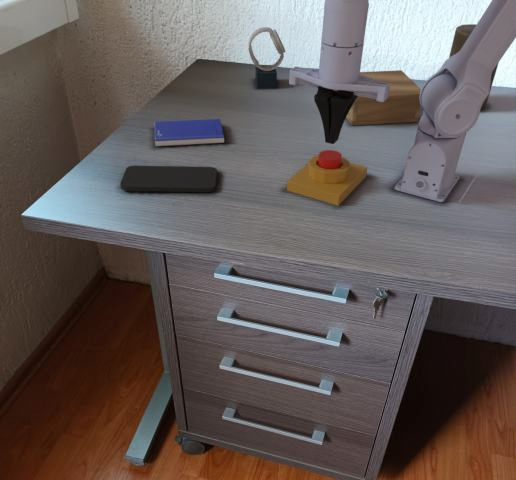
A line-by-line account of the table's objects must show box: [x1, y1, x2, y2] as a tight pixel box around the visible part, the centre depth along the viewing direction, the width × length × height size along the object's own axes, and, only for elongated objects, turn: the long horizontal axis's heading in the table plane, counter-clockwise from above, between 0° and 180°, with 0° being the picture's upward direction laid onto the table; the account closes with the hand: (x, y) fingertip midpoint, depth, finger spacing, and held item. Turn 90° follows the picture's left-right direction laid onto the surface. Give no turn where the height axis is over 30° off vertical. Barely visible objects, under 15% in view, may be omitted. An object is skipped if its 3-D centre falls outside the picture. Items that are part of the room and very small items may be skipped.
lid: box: [356, 69, 422, 101], centre depth 103 cm, size 13×14×1 cm
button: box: [318, 149, 343, 169], centre depth 83 cm, size 4×4×2 cm
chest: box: [345, 98, 422, 126], centre depth 106 cm, size 13×14×5 cm
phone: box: [120, 165, 218, 193], centre depth 85 cm, size 7×1×15 cm
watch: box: [247, 26, 286, 89], centre depth 114 cm, size 6×8×11 cm
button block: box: [286, 154, 368, 206], centre depth 84 cm, size 11×9×4 cm
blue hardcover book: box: [154, 118, 225, 147], centre depth 97 cm, size 2×8×12 cm
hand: (331, 140), depth 80 cm, fingers closed
